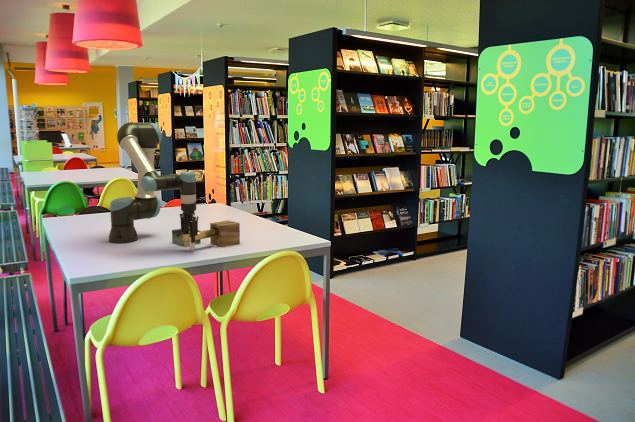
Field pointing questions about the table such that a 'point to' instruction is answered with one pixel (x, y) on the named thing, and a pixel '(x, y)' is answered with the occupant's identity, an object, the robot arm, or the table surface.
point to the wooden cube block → (225, 233)
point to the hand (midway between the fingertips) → (189, 247)
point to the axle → (199, 235)
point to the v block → (177, 237)
